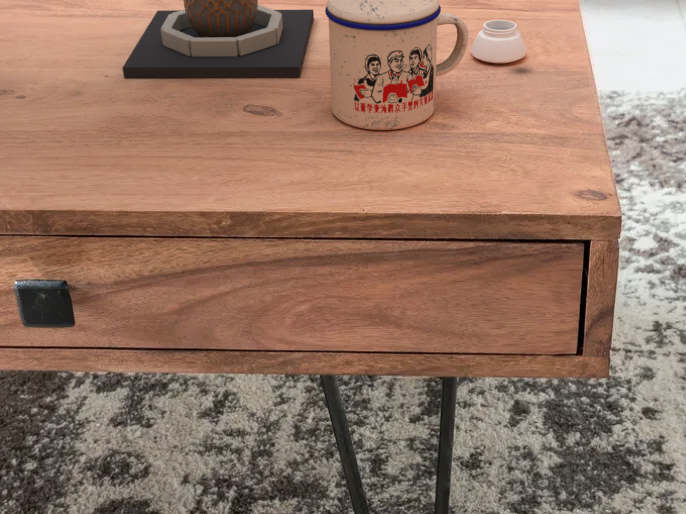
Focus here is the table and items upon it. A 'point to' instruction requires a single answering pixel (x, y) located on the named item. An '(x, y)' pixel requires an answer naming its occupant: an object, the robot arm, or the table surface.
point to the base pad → (222, 48)
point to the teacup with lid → (387, 60)
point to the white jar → (498, 42)
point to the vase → (221, 17)
